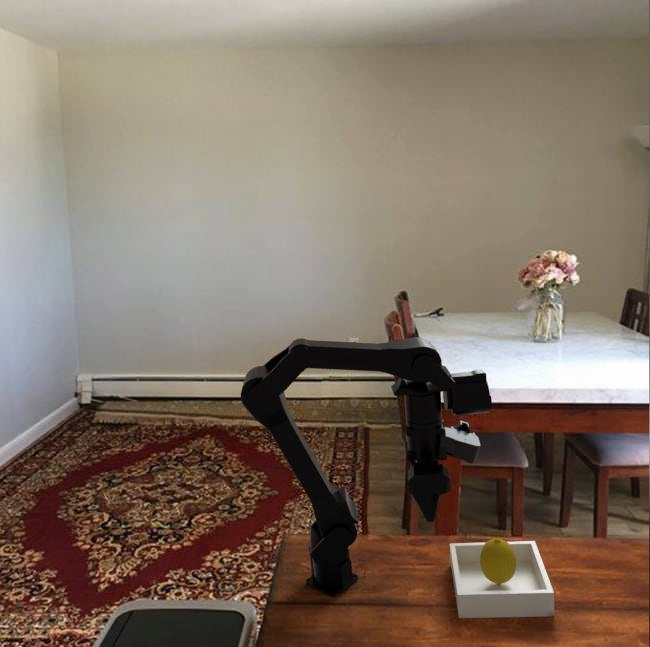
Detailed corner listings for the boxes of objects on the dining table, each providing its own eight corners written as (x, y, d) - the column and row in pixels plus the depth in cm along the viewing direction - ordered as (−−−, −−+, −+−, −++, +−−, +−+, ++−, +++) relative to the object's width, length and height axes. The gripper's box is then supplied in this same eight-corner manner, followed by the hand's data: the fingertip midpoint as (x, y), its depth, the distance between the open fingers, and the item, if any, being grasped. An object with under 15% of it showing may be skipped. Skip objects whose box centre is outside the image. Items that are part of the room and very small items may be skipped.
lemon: (482, 572, 114) (480, 528, 112) (517, 575, 112) (516, 531, 111) (479, 592, 109) (477, 546, 107) (515, 596, 107) (514, 550, 105)
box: (458, 618, 105) (457, 594, 104) (450, 564, 118) (449, 543, 117) (554, 616, 103) (554, 592, 102) (535, 562, 117) (534, 540, 116)
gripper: (483, 439, 100) (486, 536, 104) (468, 394, 118) (472, 478, 122) (405, 442, 102) (412, 538, 105) (403, 398, 120) (408, 481, 123)
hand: (429, 506), depth 114 cm, fingers open, 9 cm apart
